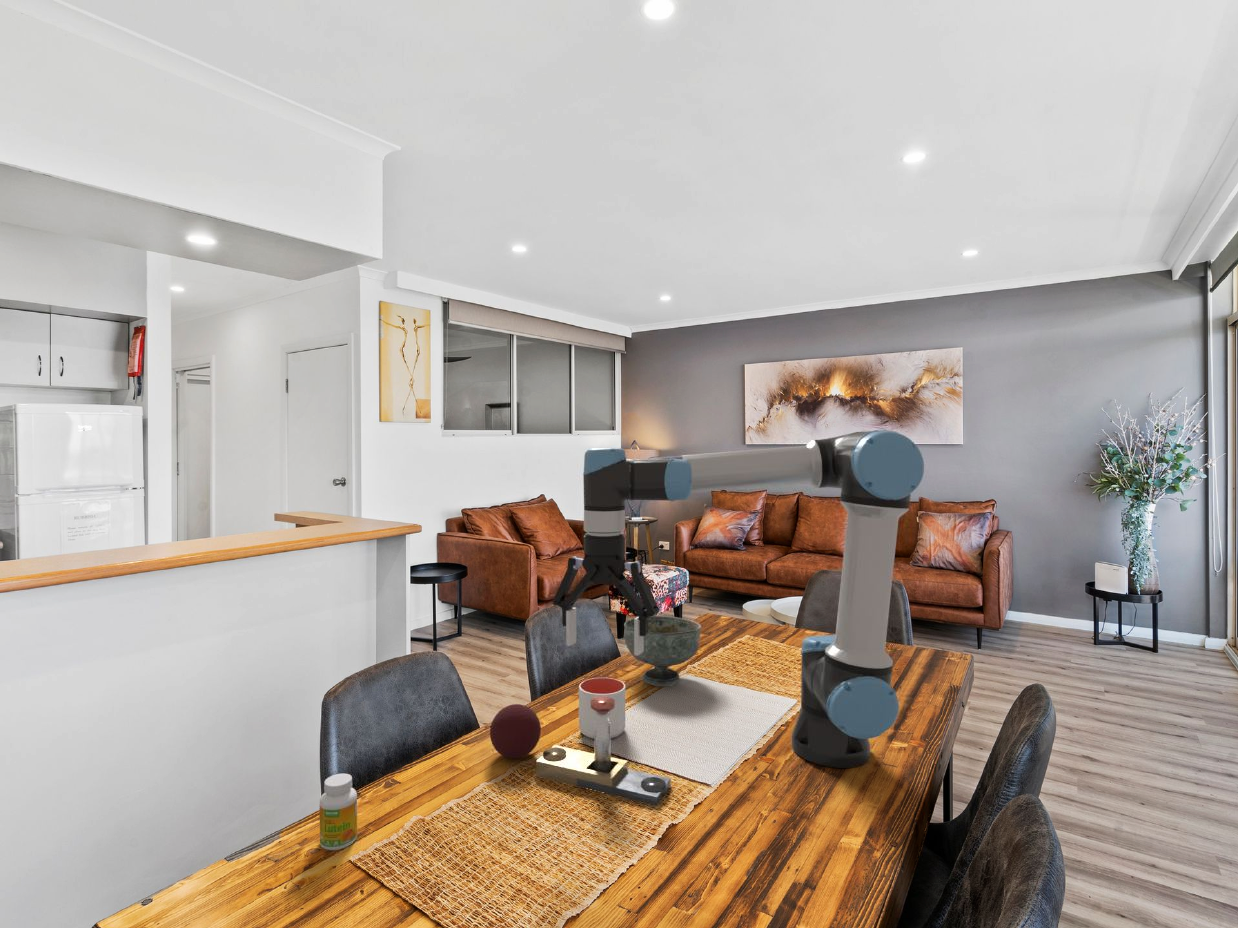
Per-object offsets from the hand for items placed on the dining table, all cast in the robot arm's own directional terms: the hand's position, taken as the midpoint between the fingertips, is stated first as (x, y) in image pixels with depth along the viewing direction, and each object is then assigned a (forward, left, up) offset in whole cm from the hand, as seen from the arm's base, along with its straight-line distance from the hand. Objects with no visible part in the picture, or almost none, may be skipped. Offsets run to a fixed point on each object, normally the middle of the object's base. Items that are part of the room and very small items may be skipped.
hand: (604, 648), depth 120 cm
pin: (0, 0, -25) cm, 25 cm away
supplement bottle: (+30, +33, -25) cm, 51 cm away
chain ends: (0, 0, -25) cm, 25 cm away
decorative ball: (+20, -2, -25) cm, 32 cm away
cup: (+9, -19, -25) cm, 32 cm away
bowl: (+8, -54, -25) cm, 60 cm away
